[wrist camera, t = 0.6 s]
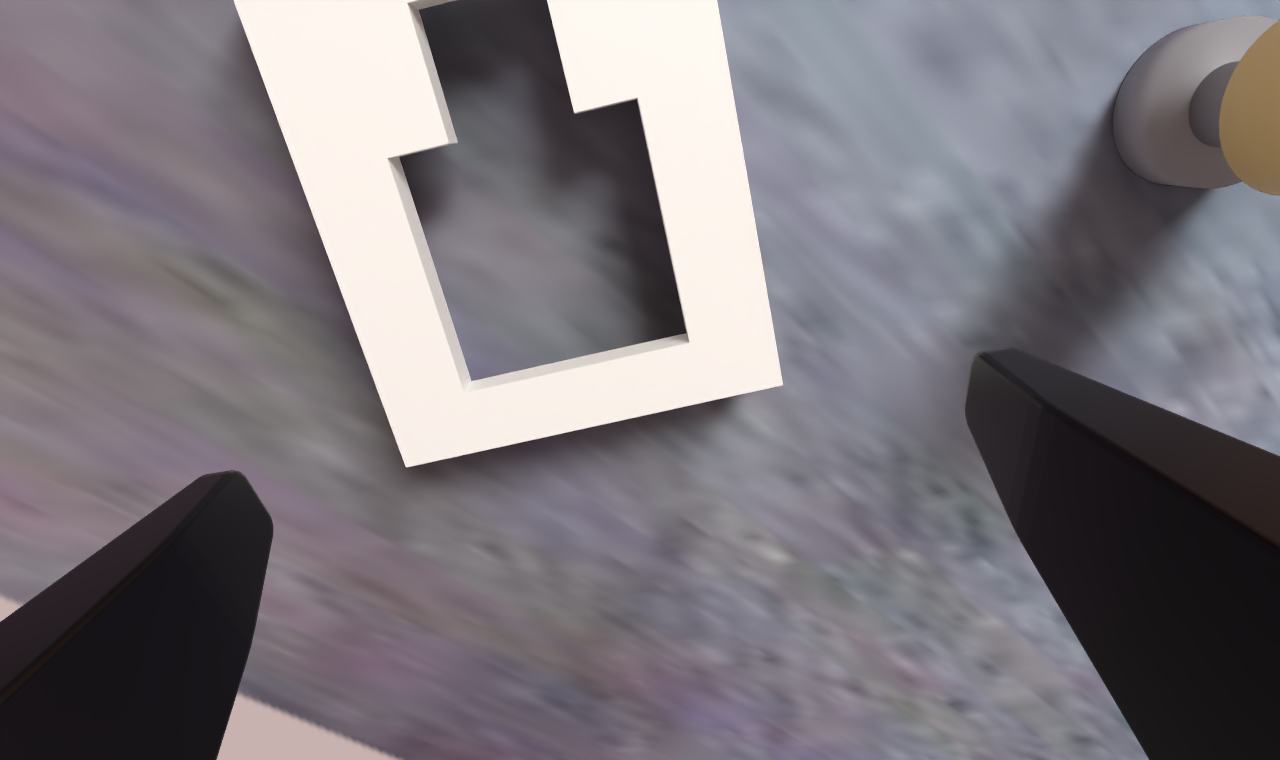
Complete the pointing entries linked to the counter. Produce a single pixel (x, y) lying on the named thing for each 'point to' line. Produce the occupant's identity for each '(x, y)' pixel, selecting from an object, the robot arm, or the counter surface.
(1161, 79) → the headed peg
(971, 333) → the counter surface
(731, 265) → the keyhole plate
